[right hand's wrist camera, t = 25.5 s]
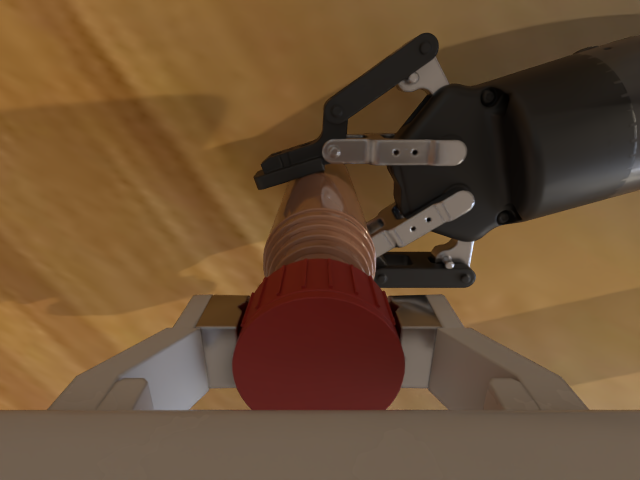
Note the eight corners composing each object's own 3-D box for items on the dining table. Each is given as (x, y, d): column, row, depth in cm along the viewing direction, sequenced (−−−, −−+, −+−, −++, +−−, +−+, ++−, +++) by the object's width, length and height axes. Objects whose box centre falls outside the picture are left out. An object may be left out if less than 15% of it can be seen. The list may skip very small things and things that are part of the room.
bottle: (320, 139, 25) (319, 235, 8) (362, 182, 26) (439, 348, 9) (278, 181, 26) (197, 347, 9) (320, 221, 27) (318, 435, 10)
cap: (250, 246, 9) (233, 283, 7) (406, 265, 9) (427, 306, 8) (241, 371, 11) (225, 428, 9) (376, 386, 11) (387, 444, 9)
